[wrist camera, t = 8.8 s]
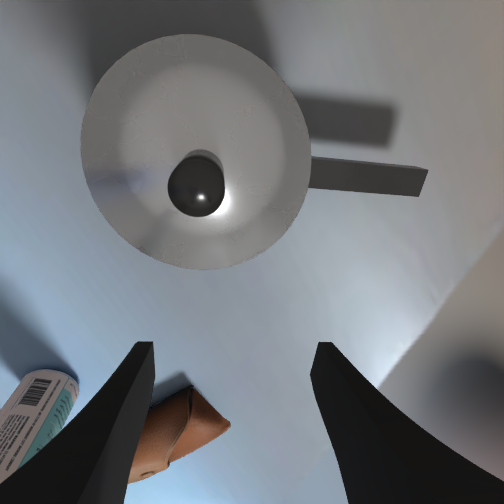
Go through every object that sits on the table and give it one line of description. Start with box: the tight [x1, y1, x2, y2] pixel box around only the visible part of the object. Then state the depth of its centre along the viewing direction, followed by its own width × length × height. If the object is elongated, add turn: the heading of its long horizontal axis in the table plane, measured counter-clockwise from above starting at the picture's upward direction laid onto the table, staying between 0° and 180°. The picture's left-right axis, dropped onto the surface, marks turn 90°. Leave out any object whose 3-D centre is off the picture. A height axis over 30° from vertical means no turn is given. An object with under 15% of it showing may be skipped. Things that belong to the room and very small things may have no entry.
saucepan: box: [308, 156, 428, 197], centre depth 17 cm, size 18×10×4 cm, turn 84°
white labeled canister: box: [0, 369, 79, 483], centre depth 20 cm, size 5×5×12 cm
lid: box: [81, 34, 311, 270], centre depth 13 cm, size 11×11×4 cm
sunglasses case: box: [128, 386, 230, 484], centre depth 29 cm, size 18×7×7 cm, turn 122°
